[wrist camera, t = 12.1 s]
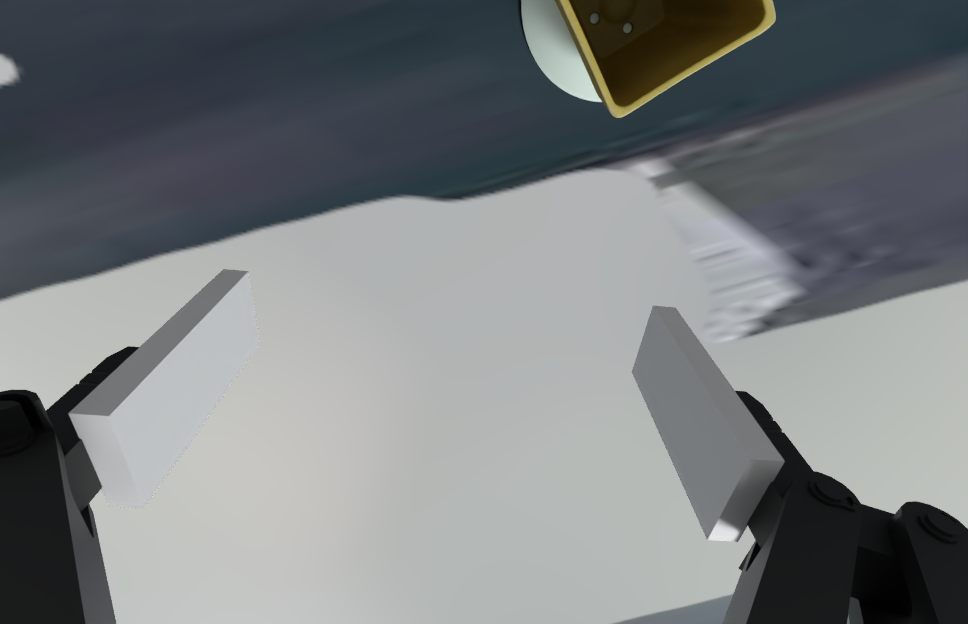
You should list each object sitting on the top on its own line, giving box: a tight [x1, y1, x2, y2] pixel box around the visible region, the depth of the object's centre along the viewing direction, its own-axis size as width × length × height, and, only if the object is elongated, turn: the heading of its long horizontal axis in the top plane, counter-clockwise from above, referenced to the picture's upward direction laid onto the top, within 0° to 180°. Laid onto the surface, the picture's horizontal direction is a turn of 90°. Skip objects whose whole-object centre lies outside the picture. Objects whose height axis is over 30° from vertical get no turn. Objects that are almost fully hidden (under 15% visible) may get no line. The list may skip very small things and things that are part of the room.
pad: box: [521, 0, 632, 102], centre depth 31 cm, size 12×12×1 cm
